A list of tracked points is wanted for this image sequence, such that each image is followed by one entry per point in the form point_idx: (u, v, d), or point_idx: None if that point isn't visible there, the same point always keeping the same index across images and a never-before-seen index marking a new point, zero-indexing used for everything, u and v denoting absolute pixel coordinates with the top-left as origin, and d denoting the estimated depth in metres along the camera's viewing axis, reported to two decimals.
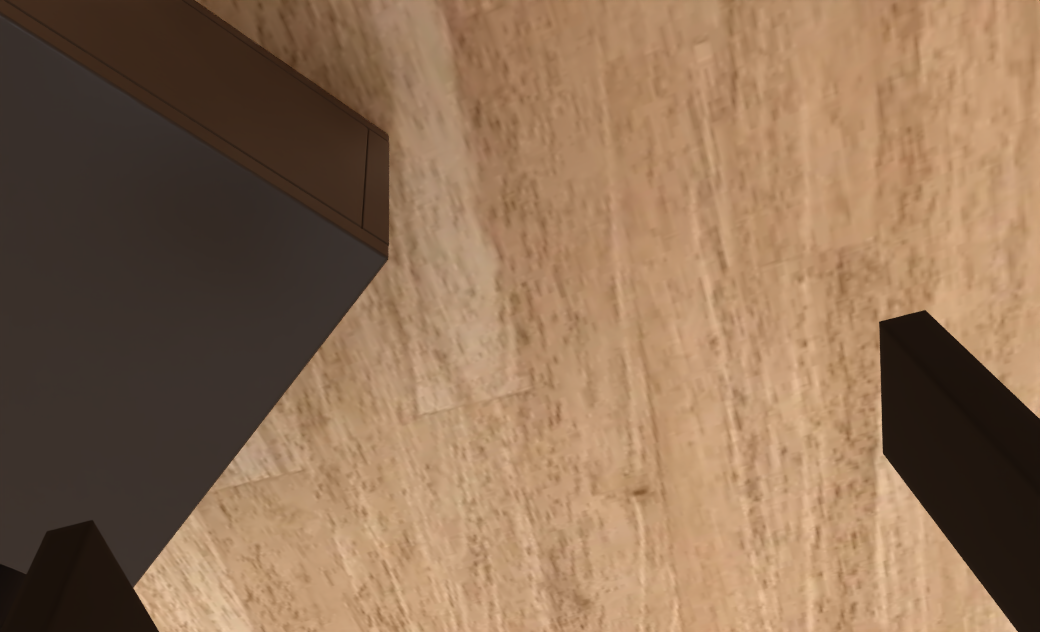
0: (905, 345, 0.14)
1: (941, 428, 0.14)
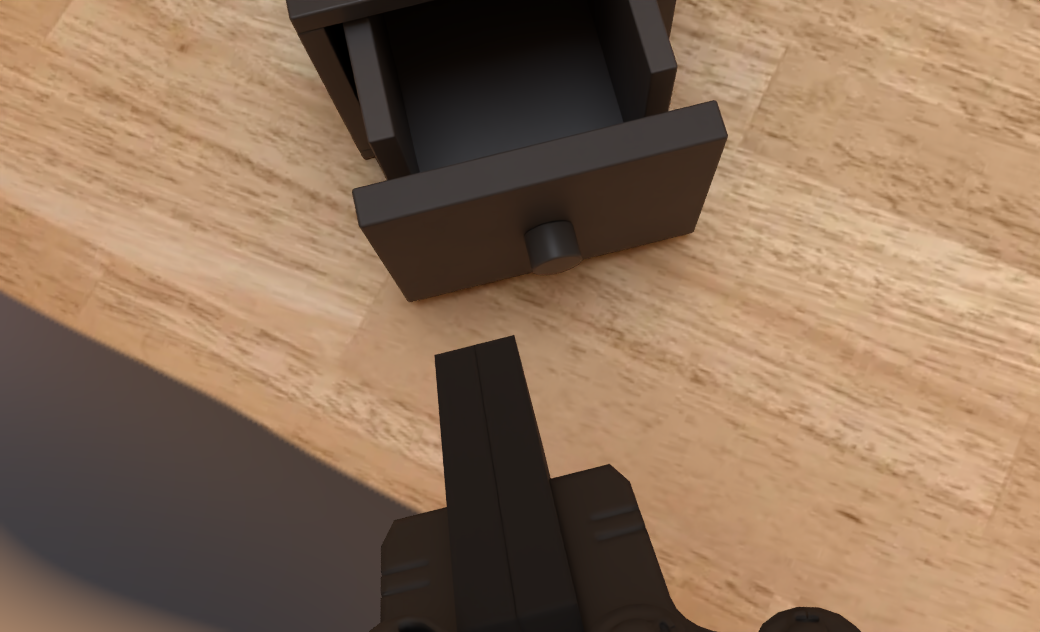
0: (480, 366, 0.16)
1: None
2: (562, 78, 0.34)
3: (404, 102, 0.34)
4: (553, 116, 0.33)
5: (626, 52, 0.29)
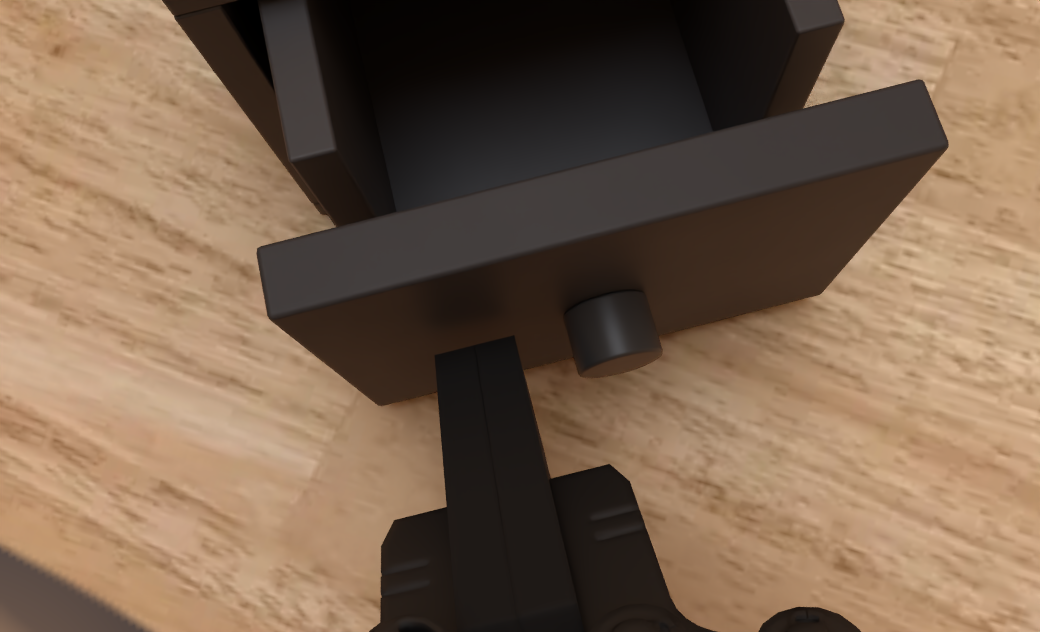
0: (480, 366, 0.16)
1: None
2: (613, 57, 0.22)
3: (371, 96, 0.22)
4: (601, 115, 0.22)
5: (732, 6, 0.18)
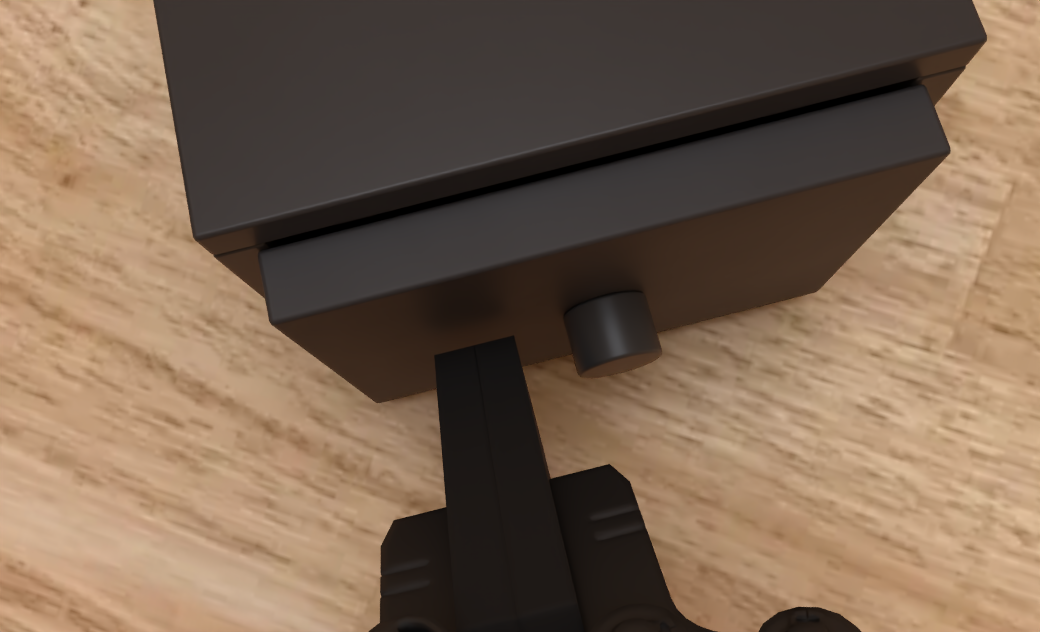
0: (480, 366, 0.16)
1: None
2: None
3: None
4: None
5: None
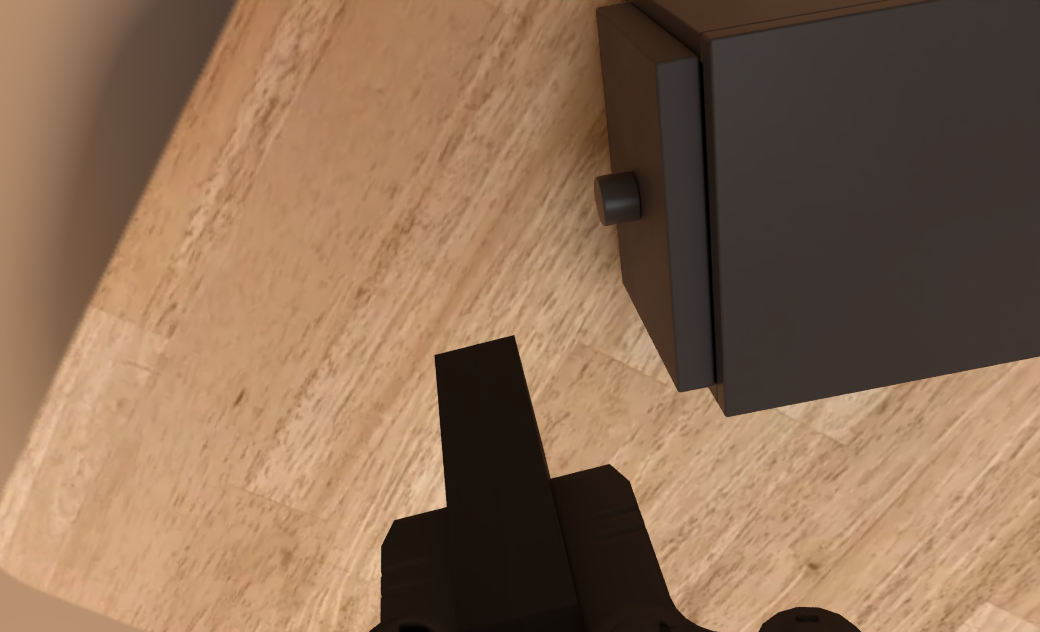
0: (480, 366, 0.16)
1: None
2: None
3: None
4: None
5: None
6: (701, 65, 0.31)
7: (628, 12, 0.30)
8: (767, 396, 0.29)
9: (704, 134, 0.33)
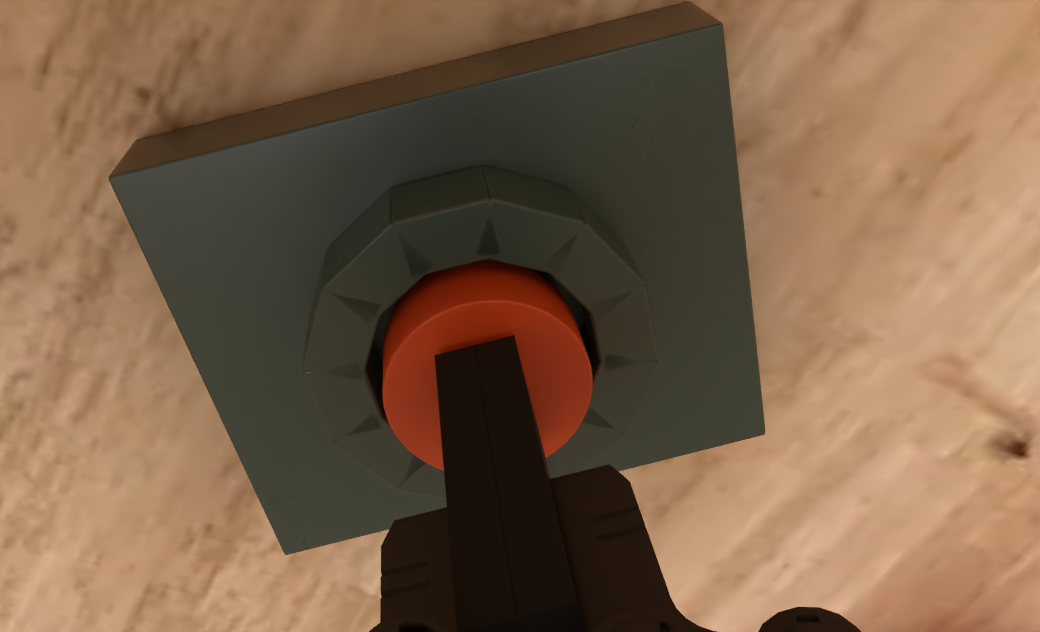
0: (480, 366, 0.16)
1: None
2: None
3: None
4: None
5: None
6: None
7: None
8: None
9: None
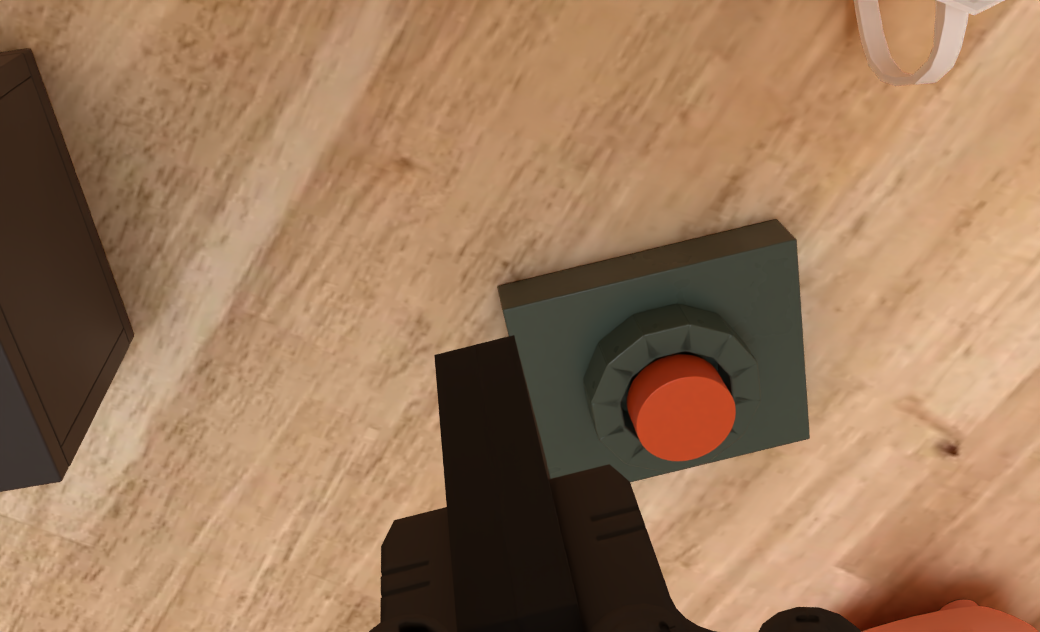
0: (480, 366, 0.16)
1: None
2: None
3: None
4: None
5: None
6: None
7: None
8: None
9: None
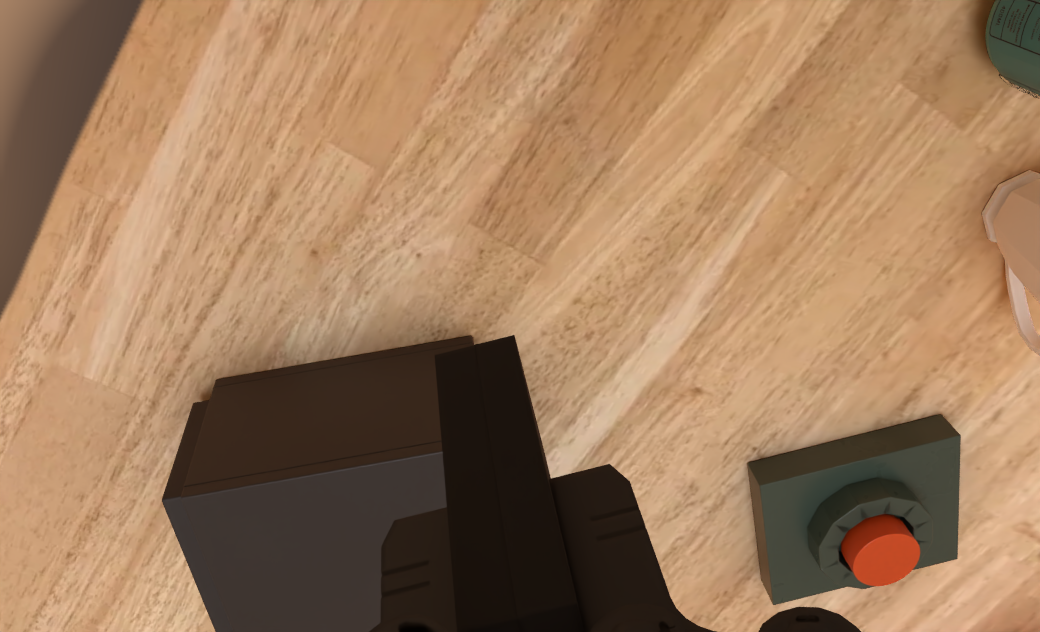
0: (480, 366, 0.16)
1: None
2: None
3: None
4: None
5: None
6: None
7: (202, 417, 0.47)
8: None
9: None
